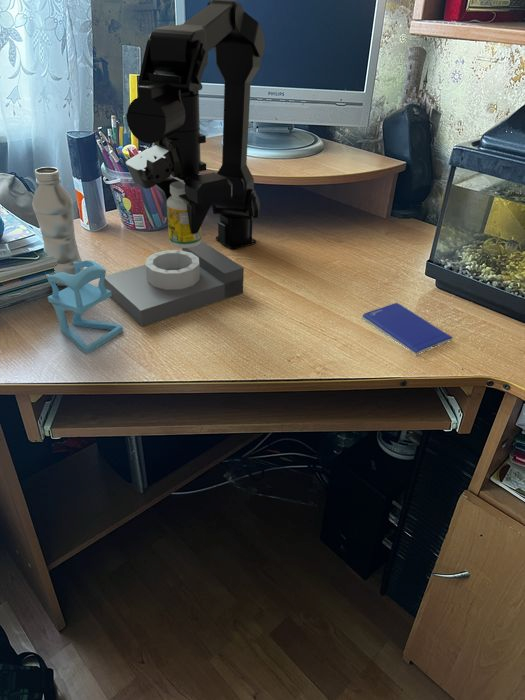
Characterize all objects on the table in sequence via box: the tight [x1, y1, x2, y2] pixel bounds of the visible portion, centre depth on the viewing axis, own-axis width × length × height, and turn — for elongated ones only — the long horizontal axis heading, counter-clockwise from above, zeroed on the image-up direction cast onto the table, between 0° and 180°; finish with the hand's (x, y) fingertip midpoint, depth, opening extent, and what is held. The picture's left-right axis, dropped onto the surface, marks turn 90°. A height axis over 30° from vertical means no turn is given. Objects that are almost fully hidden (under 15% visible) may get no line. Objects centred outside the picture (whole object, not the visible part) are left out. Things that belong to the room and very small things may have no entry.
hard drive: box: [361, 302, 453, 356], centre depth 90 cm, size 2×8×12 cm
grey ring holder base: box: [104, 240, 245, 328], centre depth 95 cm, size 20×14×6 cm
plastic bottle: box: [31, 166, 85, 287], centre depth 93 cm, size 6×7×20 cm
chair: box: [45, 259, 124, 354], centre depth 82 cm, size 8×8×12 cm
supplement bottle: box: [166, 181, 202, 249], centre depth 88 cm, size 5×5×10 cm
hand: (184, 227), depth 89 cm, fingers closed on supplement bottle, 5 cm apart
